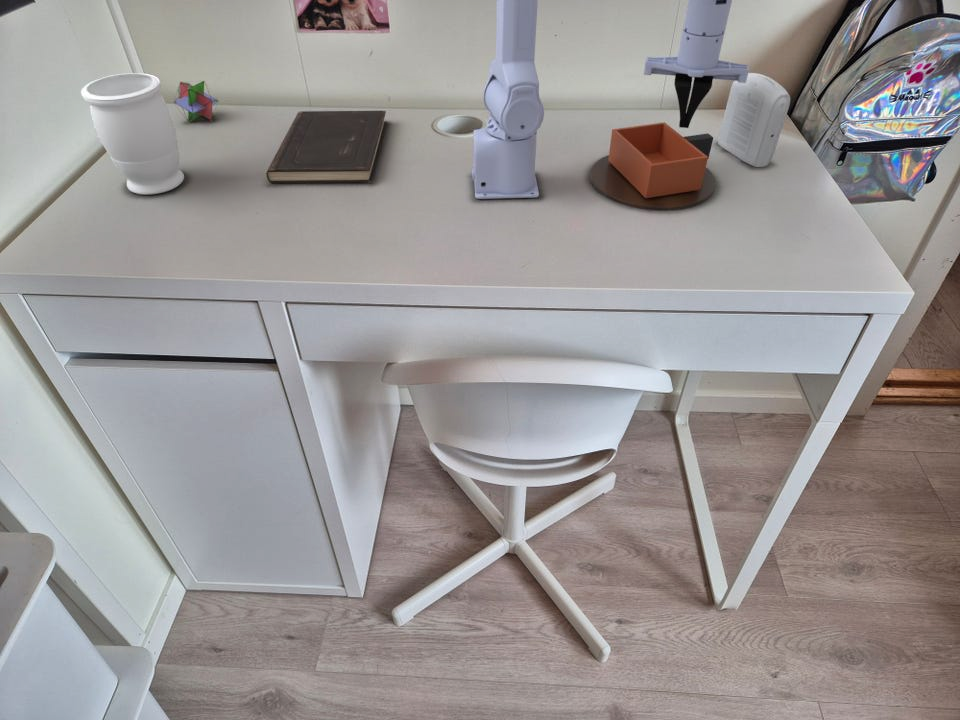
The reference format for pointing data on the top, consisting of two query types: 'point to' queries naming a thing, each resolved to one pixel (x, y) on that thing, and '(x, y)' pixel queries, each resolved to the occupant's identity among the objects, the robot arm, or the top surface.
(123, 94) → the jar
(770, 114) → the photo printer
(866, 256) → the top surface
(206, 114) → the geometric puzzle
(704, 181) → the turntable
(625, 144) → the bin
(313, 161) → the hardcover book
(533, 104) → the robot arm
